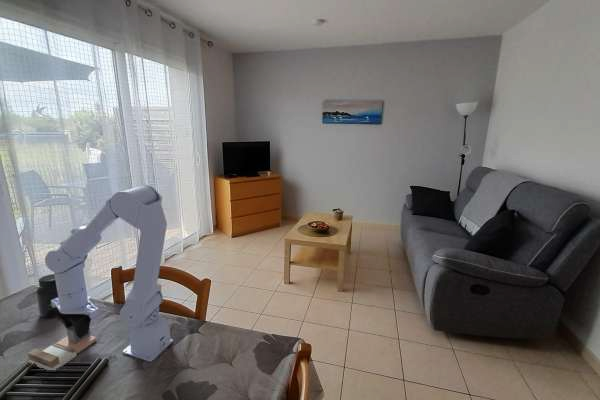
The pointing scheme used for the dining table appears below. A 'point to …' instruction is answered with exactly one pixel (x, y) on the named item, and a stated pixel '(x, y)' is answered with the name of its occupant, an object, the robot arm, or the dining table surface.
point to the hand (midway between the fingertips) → (79, 334)
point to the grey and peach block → (76, 340)
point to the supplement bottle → (47, 296)
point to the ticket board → (59, 354)
